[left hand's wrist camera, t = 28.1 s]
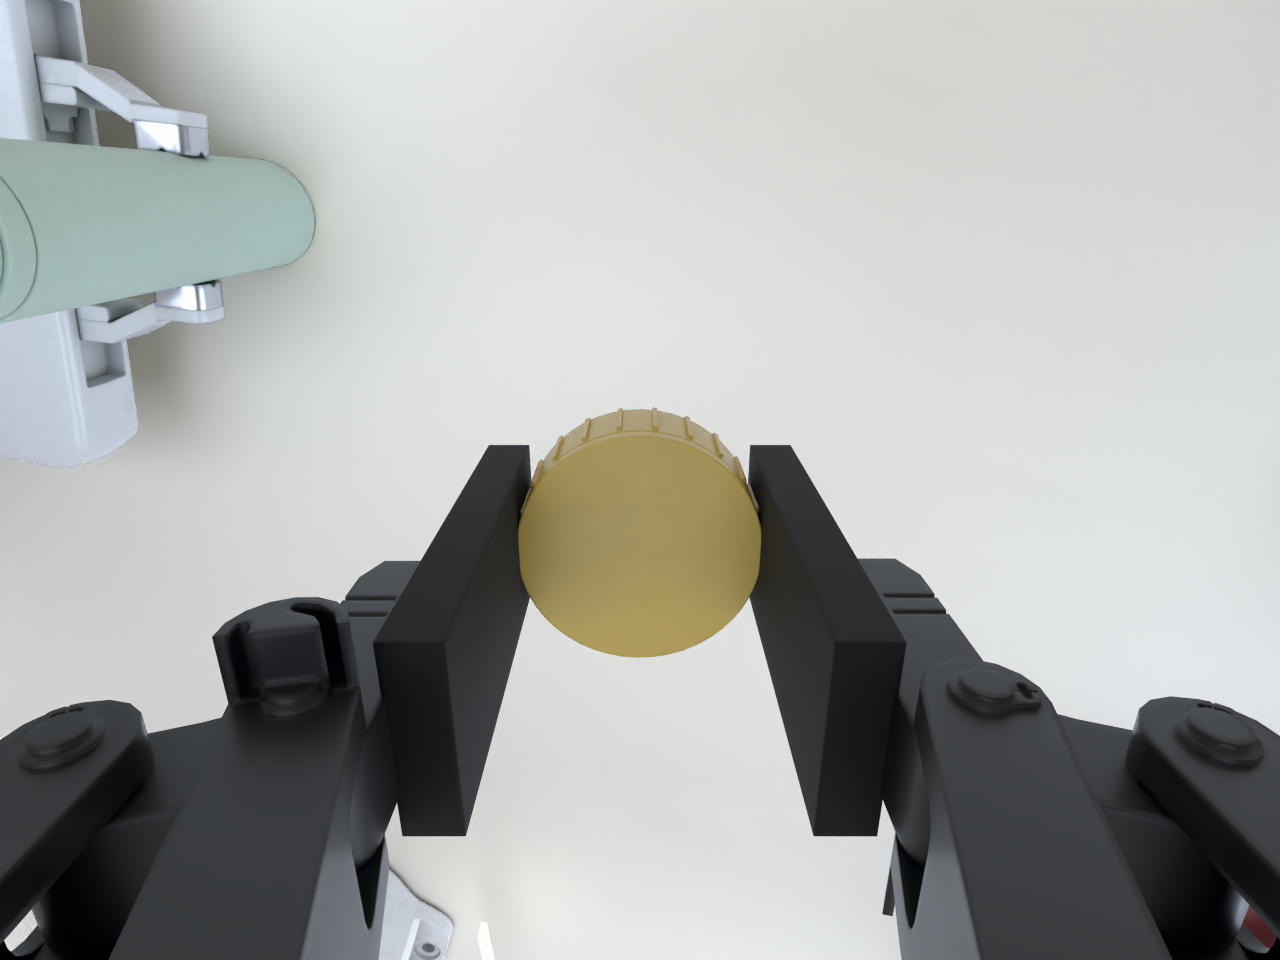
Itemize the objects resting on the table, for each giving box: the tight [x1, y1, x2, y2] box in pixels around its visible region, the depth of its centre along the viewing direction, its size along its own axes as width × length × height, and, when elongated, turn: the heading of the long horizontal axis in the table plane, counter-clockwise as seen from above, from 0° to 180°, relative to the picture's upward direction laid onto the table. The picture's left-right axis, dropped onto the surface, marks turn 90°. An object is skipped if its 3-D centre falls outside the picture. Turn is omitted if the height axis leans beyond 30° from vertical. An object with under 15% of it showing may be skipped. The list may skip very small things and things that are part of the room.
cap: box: [518, 408, 761, 657], centre depth 13 cm, size 4×4×2 cm
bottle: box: [0, 138, 315, 324], centre depth 23 cm, size 5×5×22 cm
